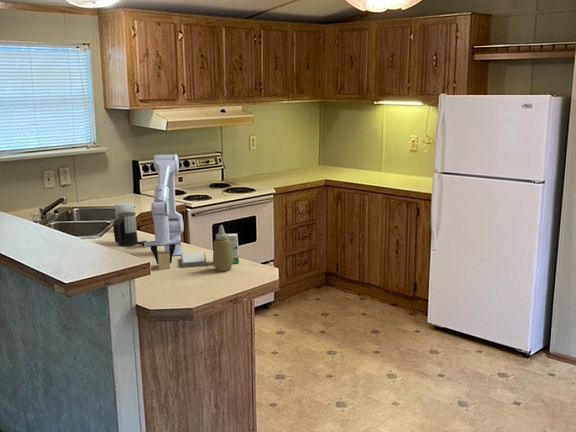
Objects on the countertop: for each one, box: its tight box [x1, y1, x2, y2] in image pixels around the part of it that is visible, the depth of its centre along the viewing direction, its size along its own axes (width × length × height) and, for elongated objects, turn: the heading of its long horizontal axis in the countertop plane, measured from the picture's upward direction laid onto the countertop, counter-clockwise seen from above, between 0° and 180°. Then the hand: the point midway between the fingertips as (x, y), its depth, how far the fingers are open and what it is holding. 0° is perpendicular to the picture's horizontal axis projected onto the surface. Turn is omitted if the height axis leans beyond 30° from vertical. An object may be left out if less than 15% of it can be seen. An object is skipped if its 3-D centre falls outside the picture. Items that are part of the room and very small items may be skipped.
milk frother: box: [112, 211, 147, 247], centre depth 293 cm, size 14×16×15 cm
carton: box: [157, 250, 171, 271], centre depth 255 cm, size 7×4×6 cm, turn 11°
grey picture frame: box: [180, 252, 208, 269], centre depth 261 cm, size 14×10×2 cm
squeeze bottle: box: [212, 224, 233, 272], centre depth 248 cm, size 8×8×18 cm
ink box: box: [227, 233, 240, 265], centre depth 258 cm, size 9×5×12 cm, turn 92°
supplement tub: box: [114, 201, 135, 220], centre depth 324 cm, size 10×10×15 cm
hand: (164, 263), depth 255 cm, fingers closed on carton, 4 cm apart
